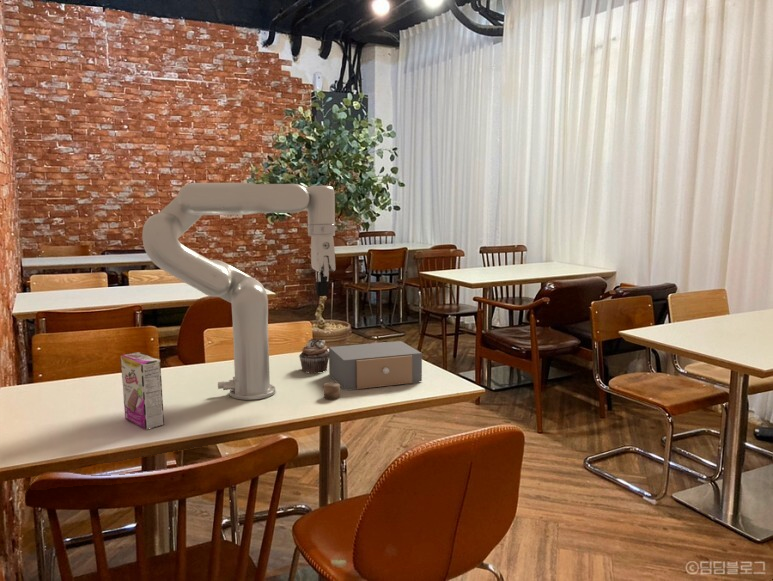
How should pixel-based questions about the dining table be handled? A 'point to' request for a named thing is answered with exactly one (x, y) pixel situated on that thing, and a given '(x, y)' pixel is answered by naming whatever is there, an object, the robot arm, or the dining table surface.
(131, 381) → the candy bar box
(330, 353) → the grey cabinet
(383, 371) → the brown drawer
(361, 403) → the dining table surface
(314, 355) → the cupcake
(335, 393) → the brown rounded piece
